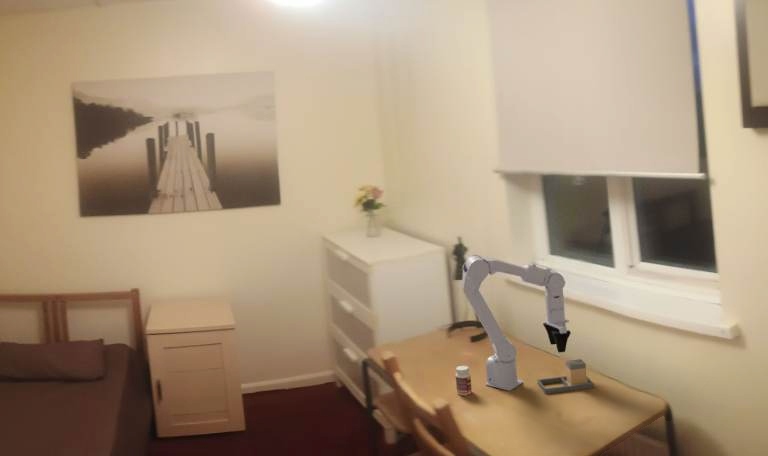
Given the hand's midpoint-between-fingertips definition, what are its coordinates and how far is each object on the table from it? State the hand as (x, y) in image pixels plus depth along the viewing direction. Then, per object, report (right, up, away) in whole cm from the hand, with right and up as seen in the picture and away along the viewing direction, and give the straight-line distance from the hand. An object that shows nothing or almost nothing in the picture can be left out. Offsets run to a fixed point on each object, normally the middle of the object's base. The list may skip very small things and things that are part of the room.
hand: (557, 347), depth 209 cm
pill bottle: (-30, -14, -1) cm, 34 cm away
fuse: (+5, -10, -5) cm, 12 cm away
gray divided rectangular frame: (+1, -11, -5) cm, 12 cm away
